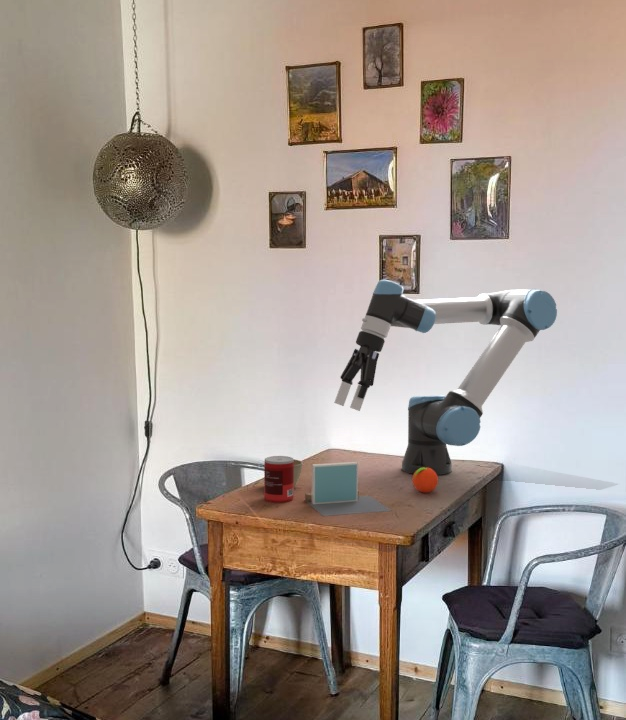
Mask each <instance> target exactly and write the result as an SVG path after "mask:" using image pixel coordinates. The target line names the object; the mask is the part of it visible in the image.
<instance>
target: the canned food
mask: <svg viewBox="0 0 626 720" xmlns="http://www.w3.org/2000/svg"><path fill="white" fill-rule="evenodd" d="M263 462H264V468H263V469H264V472H263V473H264V479H263V480H264V491H263V492H264V493H263V494H264V500H265V501H266V502H270V503H274V504H275V503H276V504H277V503H278V504H281V503H288V502H291V501H293V500H294V497H295V495H294V494H295V492H294V489H295V488H294V487H295V486H294V457H291V456H287V455H286V456H285V455H273V456H268V457H265V458H264V461H263Z"/></svg>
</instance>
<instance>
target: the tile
mask: <svg viewBox="0 0 626 720" xmlns="http://www.w3.org/2000/svg"><path fill="white" fill-rule="evenodd" d="M358 485H359V463H358V461H347V462H333V463H331V462H330V463H316V464H314V463H313V464H311V493H312V504H325V503H339V502H352V501H358V489H359V486H358Z"/></svg>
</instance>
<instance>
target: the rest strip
mask: <svg viewBox="0 0 626 720" xmlns="http://www.w3.org/2000/svg"><path fill="white" fill-rule="evenodd" d="M359 496H360V495H359V491H358V498H359ZM304 501H305V502H306V504H308V503H310V502H312V492H306V493H304Z"/></svg>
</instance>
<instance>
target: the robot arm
mask: <svg viewBox="0 0 626 720" xmlns="http://www.w3.org/2000/svg"><path fill="white" fill-rule="evenodd" d="M368 305H369V306H368V307H367V311H366V313H365V316H364V317H363V318H362V319H361V320H362V324H361V327H360V329H361V330H360V331H359V332H358V335H357V338H356V339H355V340H356V341H355V344H356V345H358V346H359V348H358V349H357V348H354V350H353V352H352V355H351V357H350V359H349V360H348V362H347V364H346V366H345V367H344V370H343V372H342V373H341V375H340V376H339V377H340V379H341V383H340V386H339V388H338V391H337V395H336V397H335V400H334V402H333V403H334V404H337V405H339V406H342V407H344V406H345V403H346V400H347V398H348V395H349V393H350V389H351V386H352V385H353V381H354V379H355V378H356V376H357V374H358V373H359V372H360V380H359V381H358V382H357V387H356V389H355V392H354V395H353V398H352V401H351V402H350V405H349V408H350V409H353V410H356V411H357V412H360V411H361V409H362V406H363V404H364V400H365V397H366V395H367V392H368V389H369V388H370V387H373V386H374V383H375V376H376V369H377V364H378V359H379V357H380V353H381V352H382V351H383V347H384V344H385V342H386V341H385V339H386V338H387V337H388V334H389V333H390V328H391V327H396V328H404V329H405V328H406V329H412V330H414V331H415V332H420V333H422V334H426V333H428V332H430V330H432V328H433V326H434V325H444V324H459V323H479V324H481V325H484V326H485V325H493V326H494V325H495V326H500V327H499V329H498V330H497V331H496V333H495V334H494V336H493V337H492V339H491V341H489V343H488V344H487V346H486V347H485V348H484V350H483V352H482V353H481V354H480V356H479V358H478V359H477V360H476V362H475V363H474V364H473V366H472V367H471V369H470V370H469V372H468V373H467V375H466V376H465V377H464V379H463V380H462V382H461V383H460V385H459V386H458V388H456V389H454V390H449V391H448V393H447V394H446V395H443V394H442V395H440V394H439V395H420V396H419V395H418V396H411V397H410V398H409V400H408V406H407V411H408V413H407V414H408V415H407V416H408V417H407V418H408V423H407V424H408V426H407V427H408V429H407V430H408V431H407V433H408V434H407V438H408V439H407V446H406V449H405V451H404V452H405V453H404V455H403V459H402V461H401V470H402V471H403V472H405V473H408V474H413V475H414V473H415V472H416V470H418V469H419V468H422V467H428V468H431V469H432V470H434V471H435V473H436V474H437V476H438V475H439V476H440V475H446V474H450V473H452V469H453V468H452V467H453V463H452V459H451V456H450V454H449V450H448V447H447V445H448V446H452V447H453V446H455V447H463V446H465V445H469V444H470V443H471V442H473V441H474V440H475V439H476V438H477V437H478V435H479V433H480V430H481V417H482V416H483V415H484V411H483V405H484V404H485V402H487V399H488V398H489V396H490V395H491V393H492V392H493V390H494V389H495V388H496V386H497V385H498V384H499V382H500V380H501V379H502V377H503V376H504V375H505V373H506V371H507V369H509V367H510V366H511V364H512V363H513V361H514V360H515V358H516V357H517V355H518V354H519V352H520V351H521V350H522V348H523V347H524V345H525V344H526V343H529V342H533V341H534V339H535V338H536V337H537V335H538V334H539V333H540V331H544V330H547V329H549V328H551V327H552V326H553V325H554V323H555V321H556V319H557V317H558V309H557V303H556V300H555V299H554V297H553V295H551V294H550V293H549V292H548V291H547V290H546V291H545V290H543V289H537V288H532V289H509V290H502V291H496V292H490V293H489V292H488V293H480V294H479V295H478V296H475V297H456V298H454V297H453V298H452V297H451V298H432V299H431V298H430V299H411V298H409V297H407V296H406V295H404V287H403V286H402V284H401V285H400V283H398V282H395V281H392V280H387V279H380V280H379V281H377V284H376V285H375V288H374V290H373V292H372V296H371V300H370V302H369V304H368Z"/></svg>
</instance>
